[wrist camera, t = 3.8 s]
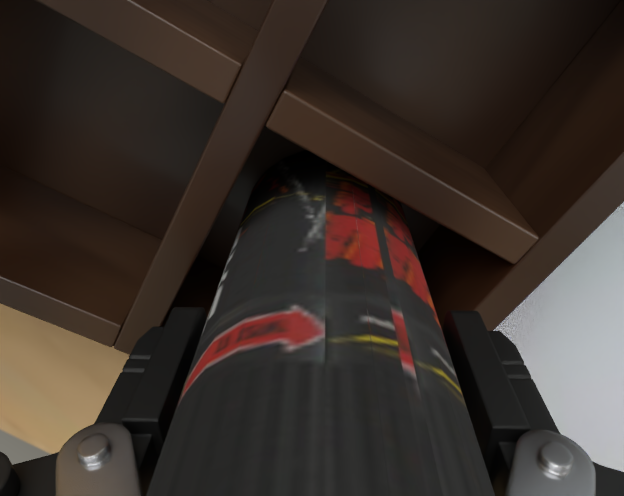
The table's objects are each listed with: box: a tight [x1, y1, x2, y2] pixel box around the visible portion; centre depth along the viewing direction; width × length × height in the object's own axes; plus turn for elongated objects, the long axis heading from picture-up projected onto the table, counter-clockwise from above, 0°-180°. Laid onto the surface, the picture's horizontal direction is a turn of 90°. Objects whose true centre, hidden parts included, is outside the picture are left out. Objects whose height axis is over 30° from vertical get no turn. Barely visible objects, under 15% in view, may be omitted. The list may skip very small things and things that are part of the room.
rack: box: [0, 0, 624, 355], centre depth 13 cm, size 18×18×5 cm
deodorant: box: [146, 150, 495, 496], centre depth 11 cm, size 6×6×15 cm
